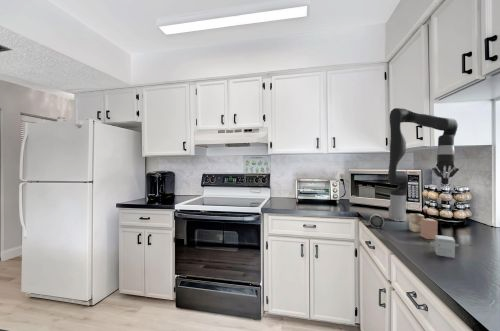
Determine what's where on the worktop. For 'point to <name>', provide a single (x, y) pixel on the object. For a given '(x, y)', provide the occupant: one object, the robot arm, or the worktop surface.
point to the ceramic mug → (375, 221)
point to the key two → (428, 228)
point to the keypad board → (434, 243)
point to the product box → (445, 246)
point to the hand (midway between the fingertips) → (444, 184)
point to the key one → (415, 222)
